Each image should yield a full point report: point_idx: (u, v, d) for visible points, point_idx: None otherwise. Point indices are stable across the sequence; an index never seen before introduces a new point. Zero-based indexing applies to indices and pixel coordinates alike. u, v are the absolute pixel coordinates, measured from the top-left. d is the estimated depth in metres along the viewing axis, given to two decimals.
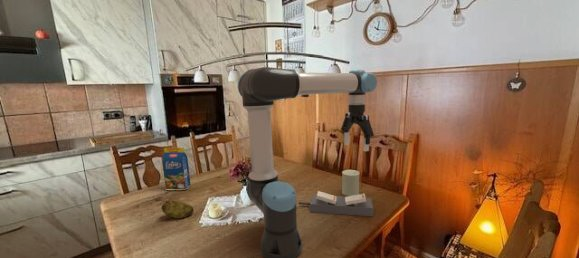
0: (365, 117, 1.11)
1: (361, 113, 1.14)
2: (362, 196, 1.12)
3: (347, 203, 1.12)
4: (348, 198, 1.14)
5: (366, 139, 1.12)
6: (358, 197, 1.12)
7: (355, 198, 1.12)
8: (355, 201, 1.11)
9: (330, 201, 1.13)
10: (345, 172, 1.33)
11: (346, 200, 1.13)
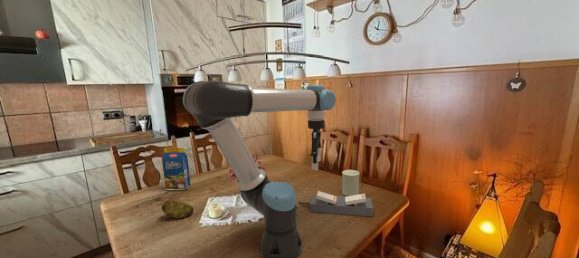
0: (312, 135, 1.07)
1: (314, 129, 1.09)
2: (362, 196, 1.12)
3: (347, 203, 1.12)
4: (348, 198, 1.14)
5: (313, 157, 1.08)
6: (358, 197, 1.12)
7: (355, 198, 1.12)
8: (355, 201, 1.11)
9: (330, 201, 1.13)
10: (345, 172, 1.33)
11: (346, 200, 1.13)
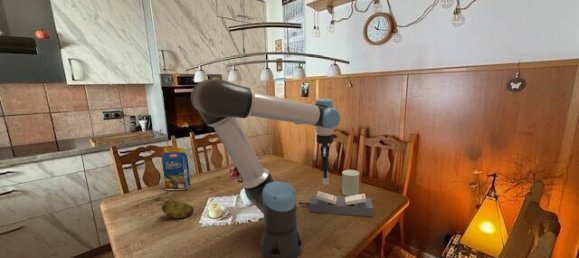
0: (322, 155, 1.07)
1: (323, 144, 1.08)
2: (362, 196, 1.12)
3: (347, 203, 1.12)
4: (348, 198, 1.14)
5: (323, 172, 1.13)
6: (358, 197, 1.12)
7: (355, 198, 1.12)
8: (355, 201, 1.11)
9: (330, 201, 1.13)
10: (345, 172, 1.33)
11: (346, 200, 1.13)
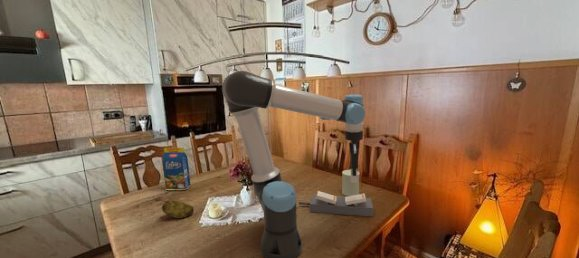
0: (353, 152, 1.04)
1: (353, 141, 1.05)
2: (362, 196, 1.12)
3: (347, 203, 1.12)
4: (348, 198, 1.14)
5: (352, 170, 1.10)
6: (358, 197, 1.12)
7: (355, 198, 1.12)
8: (355, 201, 1.11)
9: (330, 201, 1.13)
10: (345, 172, 1.33)
11: (346, 200, 1.13)
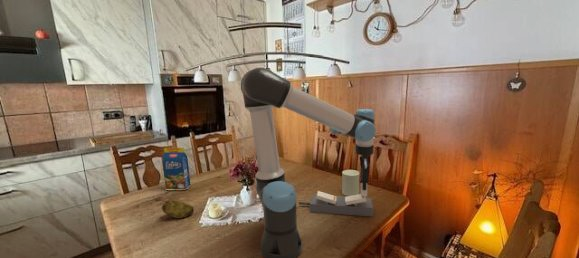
0: (363, 166, 1.04)
1: (364, 156, 1.05)
2: (362, 196, 1.12)
3: (347, 203, 1.12)
4: (348, 198, 1.14)
5: (362, 184, 1.10)
6: (358, 197, 1.12)
7: (355, 198, 1.12)
8: (355, 201, 1.11)
9: (330, 201, 1.13)
10: (345, 172, 1.33)
11: (346, 200, 1.13)
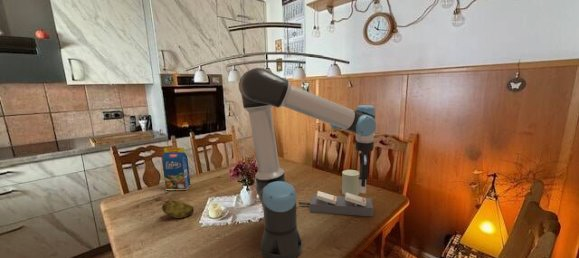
0: (363, 162, 1.04)
1: (364, 152, 1.05)
2: (363, 200, 1.12)
3: (347, 199, 1.12)
4: (349, 195, 1.14)
5: (361, 181, 1.10)
6: (359, 199, 1.13)
7: (356, 198, 1.12)
8: (355, 201, 1.11)
9: (330, 201, 1.13)
10: (345, 172, 1.33)
11: (347, 196, 1.12)
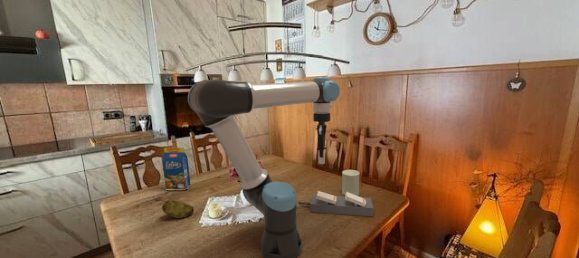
0: (318, 132, 1.06)
1: (320, 122, 1.08)
2: (363, 200, 1.12)
3: (347, 198, 1.11)
4: (349, 194, 1.14)
5: (319, 152, 1.13)
6: (359, 199, 1.13)
7: (356, 198, 1.12)
8: (355, 201, 1.11)
9: (330, 201, 1.13)
10: (345, 172, 1.33)
11: (347, 195, 1.12)
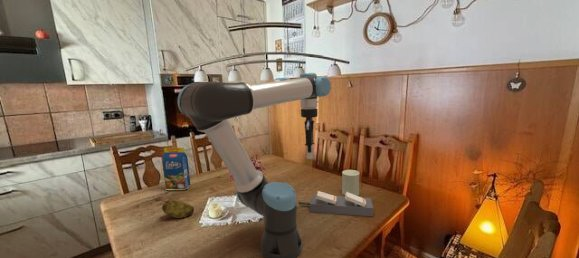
0: (306, 128, 1.08)
1: (307, 118, 1.09)
2: (363, 200, 1.12)
3: (347, 198, 1.11)
4: (349, 194, 1.14)
5: (307, 147, 1.14)
6: (359, 199, 1.13)
7: (356, 198, 1.12)
8: (355, 201, 1.11)
9: (330, 201, 1.13)
10: (345, 172, 1.33)
11: (347, 195, 1.12)
